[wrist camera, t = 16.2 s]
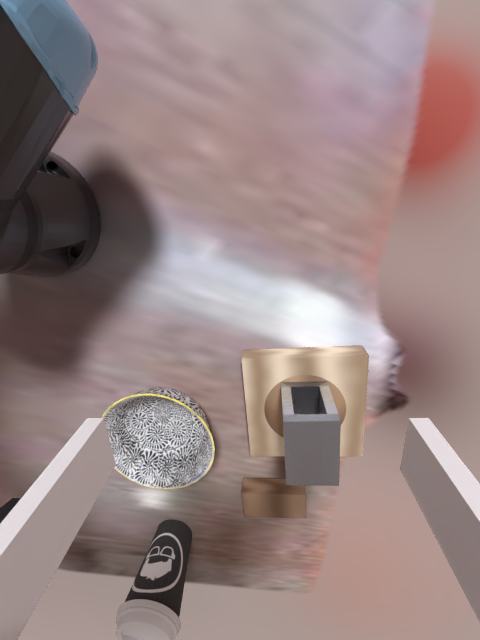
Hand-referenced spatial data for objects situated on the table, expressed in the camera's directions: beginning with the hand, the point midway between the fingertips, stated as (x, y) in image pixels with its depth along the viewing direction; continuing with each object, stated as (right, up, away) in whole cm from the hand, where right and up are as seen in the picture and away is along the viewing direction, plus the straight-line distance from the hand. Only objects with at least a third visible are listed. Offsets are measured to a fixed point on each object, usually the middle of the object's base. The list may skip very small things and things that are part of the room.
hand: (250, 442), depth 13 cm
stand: (+5, -23, +37) cm, 44 cm away
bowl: (-11, -9, +34) cm, 37 cm away
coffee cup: (-13, -34, +43) cm, 57 cm away
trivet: (+9, -6, +31) cm, 32 cm away
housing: (+8, -7, +28) cm, 30 cm away
